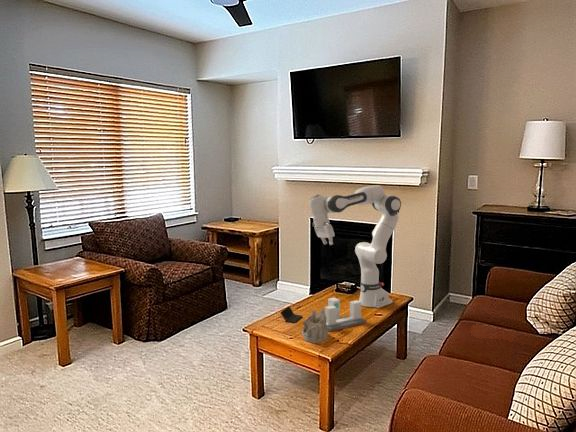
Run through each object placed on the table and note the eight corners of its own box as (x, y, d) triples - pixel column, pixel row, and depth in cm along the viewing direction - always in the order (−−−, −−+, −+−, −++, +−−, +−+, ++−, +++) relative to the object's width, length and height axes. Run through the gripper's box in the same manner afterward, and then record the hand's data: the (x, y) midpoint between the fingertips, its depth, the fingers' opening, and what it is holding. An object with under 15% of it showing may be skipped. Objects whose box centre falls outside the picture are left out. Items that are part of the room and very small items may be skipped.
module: (334, 314, 259) (334, 297, 258) (339, 318, 254) (339, 300, 253) (328, 316, 257) (328, 298, 256) (333, 319, 252) (333, 301, 251)
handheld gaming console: (298, 321, 246) (288, 306, 248) (288, 327, 248) (278, 313, 250) (303, 316, 257) (294, 302, 259) (294, 323, 259) (285, 308, 261)
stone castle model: (311, 326, 242) (310, 301, 239) (334, 336, 231) (334, 310, 228) (292, 337, 231) (291, 311, 228) (315, 347, 220) (315, 320, 217)
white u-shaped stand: (355, 316, 256) (355, 298, 254) (366, 322, 247) (366, 303, 245) (319, 325, 244) (319, 305, 243) (329, 331, 236) (329, 311, 234)
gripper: (333, 220, 247) (340, 243, 248) (320, 220, 267) (326, 242, 268) (323, 223, 246) (330, 246, 246) (311, 224, 265) (317, 245, 266)
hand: (328, 244), depth 257 cm, fingers open, 8 cm apart
